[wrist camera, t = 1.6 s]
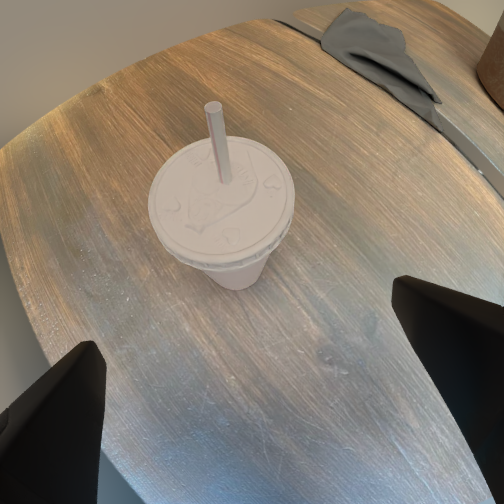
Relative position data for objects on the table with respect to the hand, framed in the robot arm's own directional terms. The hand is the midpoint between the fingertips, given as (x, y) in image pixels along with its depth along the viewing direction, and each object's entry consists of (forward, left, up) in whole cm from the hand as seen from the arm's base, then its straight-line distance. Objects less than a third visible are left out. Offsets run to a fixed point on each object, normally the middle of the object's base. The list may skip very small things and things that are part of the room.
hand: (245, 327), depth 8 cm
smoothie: (+5, -4, -12) cm, 14 cm away
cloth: (+10, -35, -12) cm, 38 cm away
